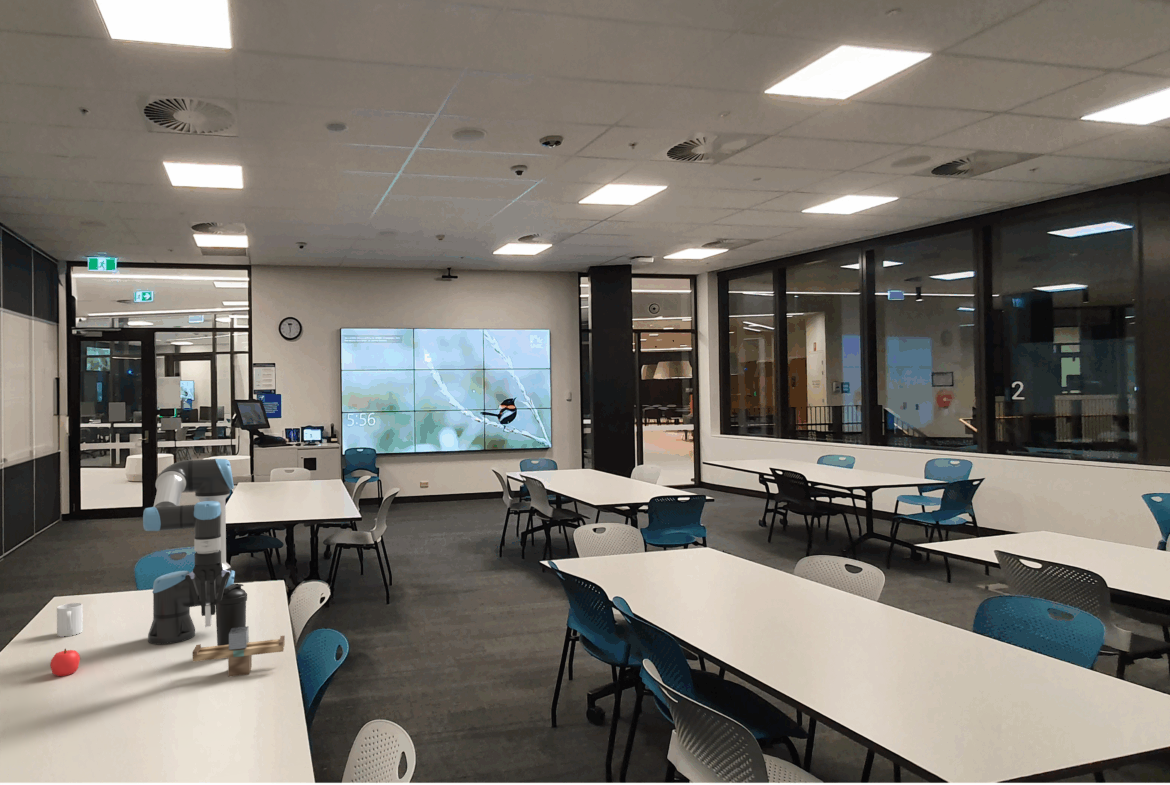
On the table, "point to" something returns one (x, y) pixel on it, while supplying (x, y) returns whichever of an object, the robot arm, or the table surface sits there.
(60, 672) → the apple
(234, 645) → the block
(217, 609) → the water bottle
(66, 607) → the mug
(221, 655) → the beam
